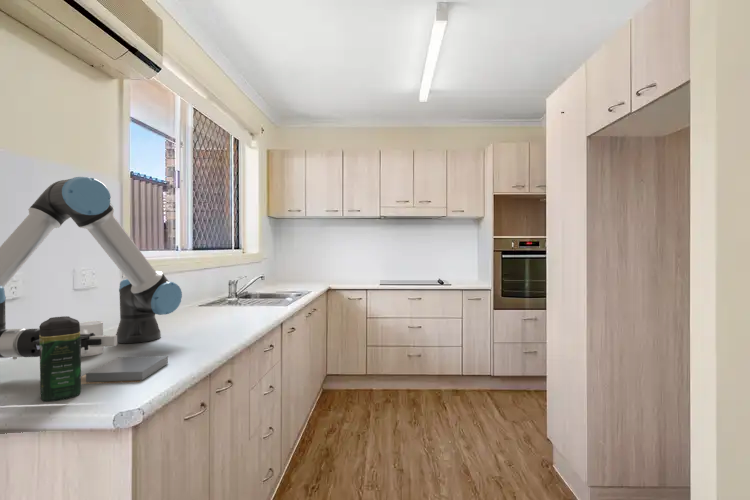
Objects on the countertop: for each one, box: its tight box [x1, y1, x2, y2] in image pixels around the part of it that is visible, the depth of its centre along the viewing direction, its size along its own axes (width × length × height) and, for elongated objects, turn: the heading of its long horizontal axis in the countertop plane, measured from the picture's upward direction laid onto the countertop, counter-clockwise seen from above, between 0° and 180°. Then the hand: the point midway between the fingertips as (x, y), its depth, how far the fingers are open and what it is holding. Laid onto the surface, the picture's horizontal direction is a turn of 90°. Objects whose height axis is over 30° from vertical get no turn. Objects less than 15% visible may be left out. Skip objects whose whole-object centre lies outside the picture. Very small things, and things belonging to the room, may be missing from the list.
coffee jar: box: [38, 315, 82, 402], centre depth 104 cm, size 10×8×19 cm
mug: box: [79, 320, 104, 357], centre depth 143 cm, size 12×8×10 cm
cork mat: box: [81, 374, 143, 385], centre depth 122 cm, size 18×18×1 cm
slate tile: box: [85, 355, 169, 382], centre depth 122 cm, size 16×2×14 cm
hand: (115, 340), depth 121 cm, fingers closed
